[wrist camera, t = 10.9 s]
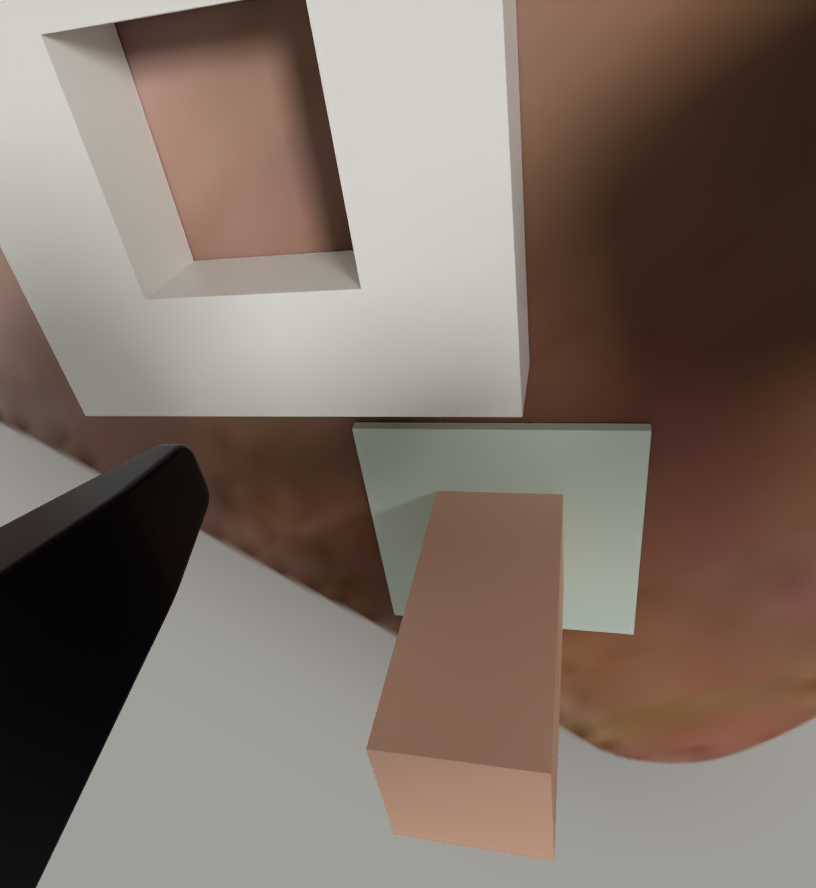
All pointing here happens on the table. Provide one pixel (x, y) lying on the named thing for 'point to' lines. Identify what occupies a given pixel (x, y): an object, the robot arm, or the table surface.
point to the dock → (279, 276)
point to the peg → (478, 678)
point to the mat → (519, 471)
